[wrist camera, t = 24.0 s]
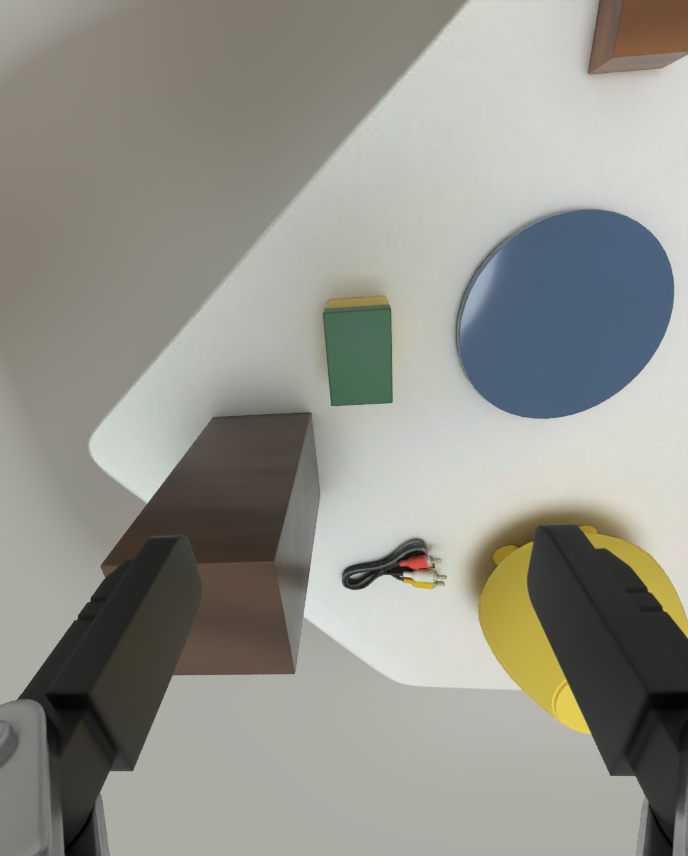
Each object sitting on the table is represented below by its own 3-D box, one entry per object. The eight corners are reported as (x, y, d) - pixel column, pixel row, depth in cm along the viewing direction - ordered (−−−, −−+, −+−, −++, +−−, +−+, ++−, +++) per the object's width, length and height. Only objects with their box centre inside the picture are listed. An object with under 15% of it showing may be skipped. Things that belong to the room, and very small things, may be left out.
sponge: (328, 299, 28) (322, 312, 24) (385, 295, 28) (391, 308, 24) (335, 380, 31) (331, 406, 26) (387, 377, 31) (392, 403, 26)
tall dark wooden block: (212, 416, 33) (99, 565, 18) (311, 412, 32) (273, 561, 18) (231, 498, 36) (148, 676, 22) (320, 495, 36) (295, 674, 21)
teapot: (646, 634, 42) (764, 801, 30) (497, 665, 45) (548, 828, 33) (629, 485, 34) (782, 630, 22) (449, 534, 37) (494, 687, 25)
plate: (462, 218, 26) (466, 217, 25) (692, 201, 25) (704, 200, 24) (450, 417, 32) (453, 423, 31) (634, 409, 31) (642, 414, 30)
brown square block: (606, -40, 20) (636, -73, 18) (688, -48, 20) (729, -82, 18) (587, 74, 22) (613, 57, 20) (662, 68, 22) (696, 50, 20)
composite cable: (345, 585, 40) (344, 606, 38) (334, 549, 38) (333, 569, 36) (444, 572, 39) (449, 592, 37) (438, 534, 37) (443, 554, 35)
